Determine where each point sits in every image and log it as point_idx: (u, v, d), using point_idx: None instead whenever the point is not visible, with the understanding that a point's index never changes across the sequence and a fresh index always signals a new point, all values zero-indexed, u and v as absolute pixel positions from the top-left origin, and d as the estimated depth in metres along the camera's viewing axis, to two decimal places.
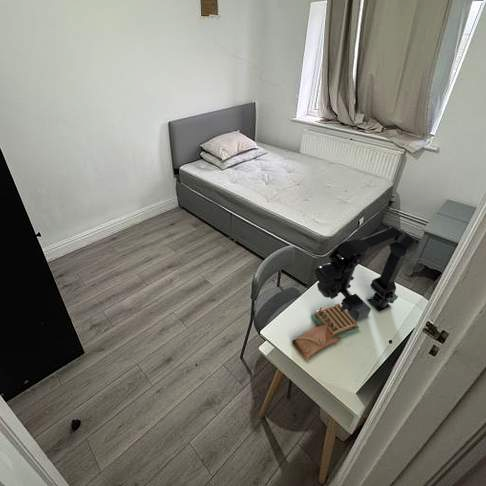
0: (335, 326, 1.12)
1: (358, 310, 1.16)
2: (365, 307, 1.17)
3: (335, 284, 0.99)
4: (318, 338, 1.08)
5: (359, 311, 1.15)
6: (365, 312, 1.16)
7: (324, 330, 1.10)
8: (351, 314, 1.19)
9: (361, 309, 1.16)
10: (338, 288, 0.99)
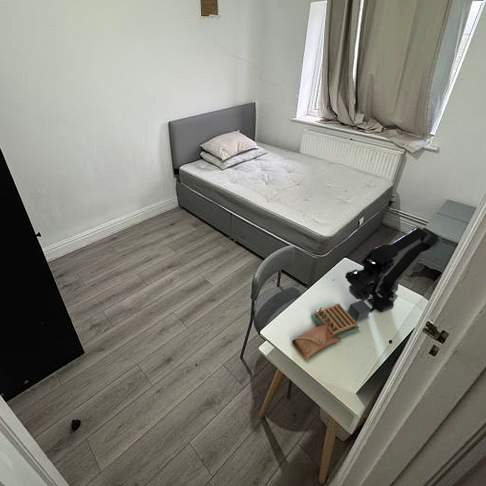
0: (335, 326, 1.12)
1: (358, 310, 1.16)
2: (365, 307, 1.17)
3: (366, 287, 1.07)
4: (318, 338, 1.08)
5: (359, 311, 1.15)
6: (365, 312, 1.16)
7: (324, 330, 1.10)
8: (351, 314, 1.19)
9: (361, 309, 1.16)
10: (369, 291, 1.06)
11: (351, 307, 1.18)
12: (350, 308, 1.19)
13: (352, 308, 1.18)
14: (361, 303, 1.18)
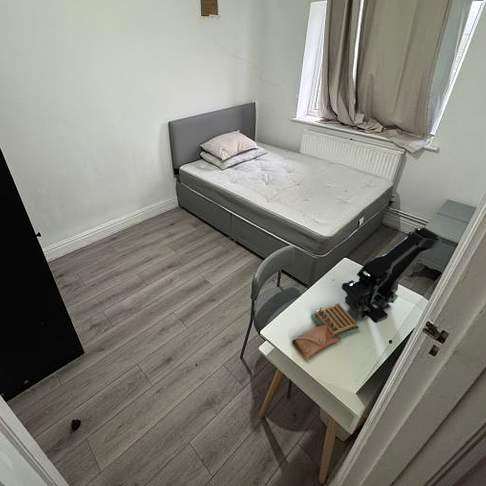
0: (335, 326, 1.12)
1: None
2: (365, 307, 1.17)
3: (362, 298, 1.10)
4: (318, 338, 1.08)
5: None
6: None
7: (324, 330, 1.10)
8: (351, 314, 1.19)
9: None
10: (364, 302, 1.10)
11: None
12: (350, 308, 1.19)
13: None
14: None
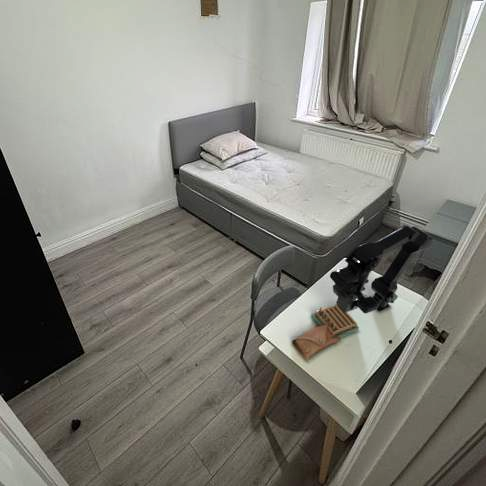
0: (335, 326, 1.12)
1: None
2: (355, 297, 1.08)
3: (350, 287, 1.02)
4: (318, 338, 1.08)
5: (348, 301, 1.07)
6: None
7: (324, 330, 1.10)
8: (340, 305, 1.11)
9: None
10: (353, 290, 1.02)
11: None
12: None
13: None
14: None
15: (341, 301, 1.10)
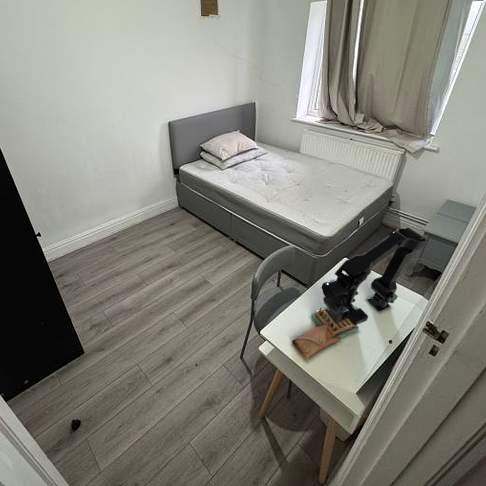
0: (335, 326, 1.12)
1: None
2: (345, 308, 1.11)
3: (340, 299, 1.04)
4: (318, 338, 1.08)
5: (339, 312, 1.09)
6: None
7: (324, 330, 1.10)
8: (331, 316, 1.13)
9: None
10: (343, 303, 1.04)
11: None
12: None
13: None
14: None
15: (332, 312, 1.12)
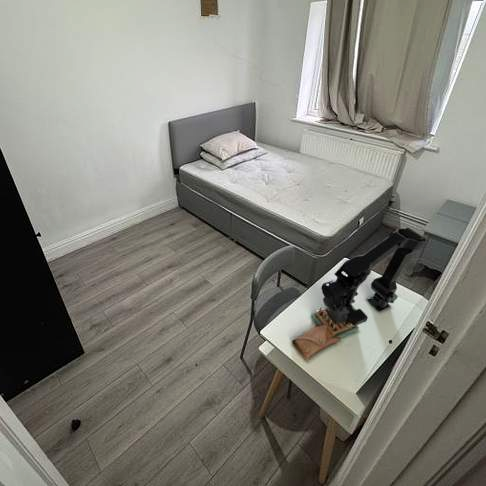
0: (335, 326, 1.12)
1: None
2: (345, 310, 1.11)
3: (340, 299, 1.04)
4: (318, 338, 1.08)
5: (338, 314, 1.10)
6: (345, 315, 1.11)
7: (324, 330, 1.10)
8: (331, 317, 1.14)
9: (340, 312, 1.10)
10: (343, 303, 1.04)
11: None
12: (329, 311, 1.13)
13: None
14: None
15: (332, 313, 1.12)
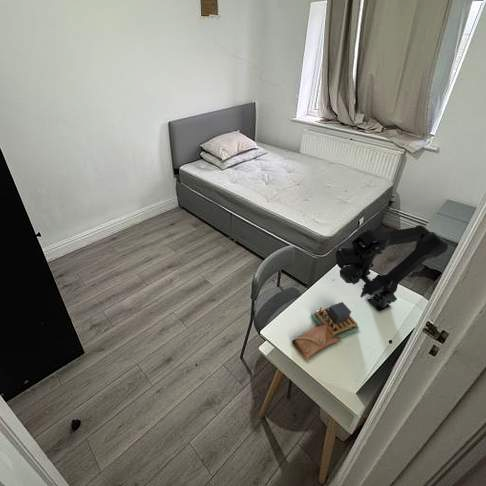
0: (335, 326, 1.12)
1: (337, 313, 1.10)
2: (345, 310, 1.11)
3: (356, 271, 1.07)
4: (318, 338, 1.08)
5: (338, 314, 1.10)
6: (345, 315, 1.11)
7: (324, 330, 1.10)
8: (331, 317, 1.14)
9: (340, 312, 1.10)
10: (359, 274, 1.07)
11: (331, 310, 1.13)
12: (329, 311, 1.13)
13: (331, 311, 1.12)
14: (341, 305, 1.13)
15: (332, 313, 1.12)
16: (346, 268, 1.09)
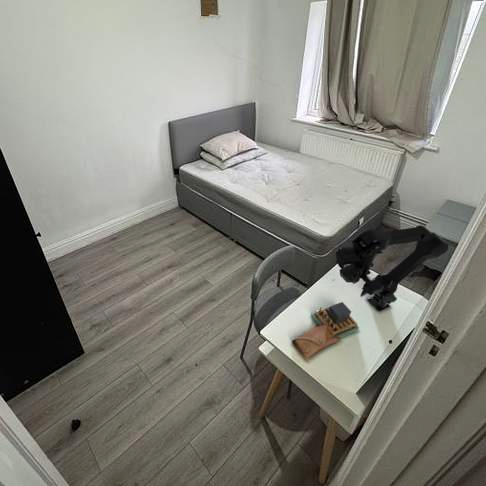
0: (335, 326, 1.12)
1: (337, 313, 1.10)
2: (345, 310, 1.11)
3: (357, 270, 1.07)
4: (318, 338, 1.08)
5: (338, 314, 1.10)
6: (345, 315, 1.11)
7: (324, 330, 1.10)
8: (331, 317, 1.14)
9: (340, 312, 1.10)
10: (359, 274, 1.07)
11: (331, 310, 1.13)
12: (329, 311, 1.13)
13: (331, 311, 1.12)
14: (341, 305, 1.13)
15: (332, 313, 1.12)
16: (346, 267, 1.10)
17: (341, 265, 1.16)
